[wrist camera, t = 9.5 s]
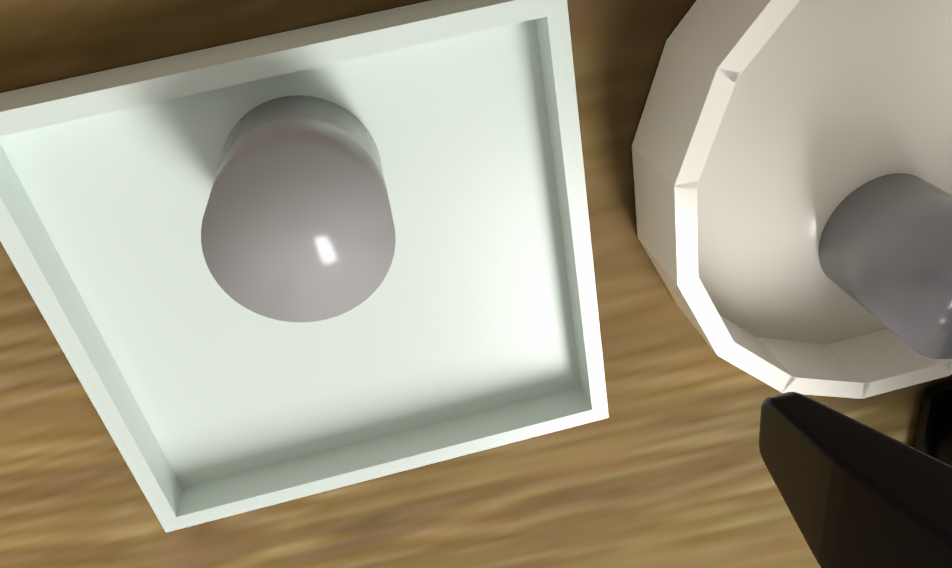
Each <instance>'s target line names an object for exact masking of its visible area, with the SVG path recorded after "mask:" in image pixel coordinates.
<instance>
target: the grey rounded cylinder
mask: <svg viewBox="0 0 952 568" xmlns="http://www.w3.org/2000/svg"><path fill="white" fill-rule="evenodd" d="M818 255H819V262H820V265H821V268H822V270H823V272H824V273H825V275H826V276H827V277H828V278H829V279H830V280H831V281H832V282H833V283H835V284H836V285H837V286H838V287H839V288H841V289H842V290H843V291H844V292H845V293H847V294H848V295H849V296H850V297H851V298H852V299H854V300H855V301H856V302H857V303H858V304H860V305H861V306H862V307H863V308H864V309H866V310H867V311H868V312H869V313H870V314H872V315H873V316H874V317H875V318H876V319H878V320H879V321H880V322H881V323H882V324H884V325H885V326H886V327H887V328H888V329H889V330H891V331H892V332H893V333H894V334H895V335H897V336H898V337H899V338H900V339H901V340H903V341H904V342H905V343H906V344H907V345H909V346H910V347H911V348H912V349H913V350H915V351H916V352H917V353H919V354H921V355H922V356H925V357H928V358H933V359H952V195H951V194H949V193H947V192H945V191H943V190H942V189H940V188H938V187H936V186H934V185H933V184H931V183H929V182H927V181H925V180H923V179H922V178H919V177H917V176H915V175H911V174H905V173H895V174H889V175H884V176H881V177H878V178H875V179H873V180H871V181H869V182H867V183H865V184H863V185H861V186H860V187H858V188H857V189H855V190H854V191H853V192H852V193H850V194H849V195H848V196H847V197H846V198H845V199H844V200H843V201H842V202H841V203H840V204H839V205H838V206H837V208H836V209H835V210H834V211H833V213H832V214H831V216H830V217H829V219H828V221H827V223H826V224H825V227H824V229H823V231H822V234H821V238H820V242H819V254H818Z"/></svg>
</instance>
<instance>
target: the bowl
mask: <svg viewBox="0 0 952 568" xmlns="http://www.w3.org/2000/svg"><path fill="white" fill-rule="evenodd" d="M632 159H633V174H634V190H635V206H636V222H637V237H638V239H639V241H640V242H641V244H642V246H643V247H644V249H645V251H646V253H647V254H648V256H649V258H650V259H651V261H652V263H653V265H654V266H655V268H656V270H657V271H658V273H659V275H660V277H661V278H662V280H663V282H664V283H665V285H666V287H667V289H668V290H669V292H670V294H671V296H672V297H673V299H674V301H675V303H676V304H677V305H678V306H679V308H680V309H681V310H682V311H683V313H684V314H685V315H686V316H687V318H688V319H689V320H690V322H691V323H692V324H693V325H694V327H695V328H696V329H697V330H698V332H699V333H700V334H701V335H702V337H703V338H704V339H705V341H706V342H707V343H708V344H709V346H710V347H711V348H712V349H713V351H714V352H715V353H716V354H717V356H719V357H721V358H723V359H724V360H726V361H728V362H730V363H731V364H733V365H735V366H737V367H738V368H740V369H742V370H744V371H745V372H747V373H749V374H751V375H752V376H754V377H756V378H757V379H759V380H761V381H763V382H764V383H766V384H768V385H770V386H771V387H773V388H775V389H777V390H778V391H780V392H782V393H787V392H797V393H800V394H805V395H818V396H832V397H845V398H858V399H863V398H867V397H871V396H874V395H878V394H882V393H886V392H890V391H893V390H897V389H901V388H905V387H908V386H912V385H916V384H920V383H924V382H927V381H931V380H935V379H939V378H943V377H946V376H949V375H951V374H952V359H933V358H928V357H925V356H922V355H921V354H919V353H917V352H916V351H915V350H913V349H912V348H911V347H910V346H909V345H907V344H906V343H905V342H904V341H903V340H901V339H900V338H899V337H898V336H897V335H895V334H894V333H893V332H892V331H891V330H889V329H888V328H887V327H886V326H885V325H884V324H882V323H881V322H880V321H879V320H878V319H876V318H875V317H874V316H873V315H872V314H870V313H869V312H868V311H867V310H866V309H864V308H863V307H862V306H861V305H860V304H858V303H857V302H856V301H855V300H854V299H852V298H851V297H850V296H849V295H848V294H847V293H845V292H844V291H843V290H842V289H841V288H839V287H838V286H837V285H836V284H835V283H833V282H832V281H831V280H830V279H829V278H828V277H827V276H826V275H825V273H824V272H823V270H822V268H821V265H820V262H819V255H818V254H819V242H820V238H821V234H822V231H823V229H824V227H825V224H826V223H827V221H828V219H829V217H830V216H831V214H832V213H833V211H834V210H835V209H836V208H837V206H838V205H839V204H840V203H841V202H842V201H843V200H844V199H845V198H846V197H847V196H848V195H849V194H850V193H852V192H853V191H854V190H855V189H857V188H858V187H860V186H861V185H863V184H865V183H867V182H869V181H871V180H873V179H875V178H878V177H881V176H884V175H889V174H895V173H905V174H911V175H915V176H917V177H919V178H922V179H923V180H925V181H927V182H929V183H931V184H933V185H934V186H936V187H938V188H940V189H942V190H943V191H945V192H947V193H949V194H951V195H952V0H696V2H695V3H694V4H693V6H692V7H691V8H690V10H689V11H688V12H687V14H686V15H685V16H684V18H683V19H682V20H681V22H680V23H679V24H678V26H677V27H676V28H675V30H674V31H673V32H672V34H671V35H670V36H669V38H668V39H667V40H666V43H665V46H664V49H663V52H662V55H661V58H660V61H659V64H658V67H657V70H656V74H655V77H654V80H653V83H652V86H651V89H650V92H649V95H648V98H647V101H646V104H645V107H644V110H643V113H642V116H641V119H640V122H639V125H638V128H637V131H636V134H635V137H634V141H633V144H632Z"/></svg>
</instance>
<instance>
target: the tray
mask: <svg viewBox="0 0 952 568" xmlns="http://www.w3.org/2000/svg"><path fill="white" fill-rule="evenodd" d="M297 95H303V96H313V97H317V98H321V99H325V100H327V101H330V102H333V103H335V104H337V105H339V106H341V107H343V108H344V109H346V110H347V111H349V112H350V113H352V114H353V115H354V116H355V117H356V118H357V119H359V120H360V121H361V123H362V124H363V125H364V126H365V127H366V128H367V130H368V131H369V133H370V134H371V136H372V138H373V140H374V142H375V144H376V146H377V149H378V152H379V155H380V159H381V164H382V169H383V174H384V179H385V183H386V188H387V193H388V198H389V202H390V207H391V212H392V217H393V222H394V227H395V239H396V243H395V252H394V256H393V260H392V264H391V266H390V268H389V271H388V273H387V275H386V277H385V278H384V280H383V282H382V283H381V284H380V286H379V287H378V288H377V289H376V291H375V292H374V293H373V294H372V295H371V296H370V297H369V298H368V299H366V300H365V301H364V302H362V303H361V304H360V305H358V306H357V307H355V308H353V309H352V310H350V311H348V312H346V313H343V314H341V315H339V316H336V317H333V318H329V319H326V320H321V321H315V322H303V323H302V322H286V321H279V320H275V319H271V318H267V317H265V316H262V315H259V314H257V313H254V312H253V311H251V310H249V309H247V308H245V307H243V306H242V305H240V304H239V303H237V302H236V301H235V300H233V299H232V298H231V297H230V296H229V295H228V294H226V293H225V291H224V290H223V289H222V288H221V287H220V286H219V285H218V283H217V282H216V280H215V279H214V277H213V276H212V274H211V272H210V270H209V268H208V266H207V264H206V261H205V258H204V255H203V251H202V245H201V226H202V219H203V216H204V213H205V209H206V206H207V203H208V199H209V196H210V193H211V189H212V186H213V182H214V179H215V176H216V172H217V169H218V166H219V162H220V159H221V156H222V152H223V149H224V146H225V142H226V140H227V138H228V136H229V134H230V132H231V131H232V129H233V128H234V126H235V125H236V123H237V122H238V121H239V120H240V119H241V118H242V117H243V116H244V115H245V114H247V113H248V112H249V111H250V110H252V109H253V108H255V107H257V106H258V105H260V104H262V103H264V102H267V101H269V100H272V99H276V98H279V97H285V96H297ZM0 241H1V243H2V245H3V247H4V248H5V250H6V252H7V254H8V255H9V257H10V259H11V261H12V262H13V264H14V266H15V268H16V269H17V271H18V273H19V275H20V276H21V278H22V280H23V282H24V284H25V285H26V287H27V289H28V291H29V292H30V294H31V296H32V298H33V299H34V301H35V303H36V305H37V306H38V308H39V310H40V312H41V313H42V315H43V317H44V319H45V320H46V322H47V324H48V326H49V328H50V329H51V331H52V333H53V335H54V336H55V338H56V340H57V342H58V343H59V345H60V347H61V349H62V350H63V352H64V354H65V356H66V357H67V359H68V361H69V363H70V364H71V366H72V368H73V370H74V372H75V373H76V375H77V377H78V379H79V380H80V382H81V384H82V386H83V387H84V389H85V391H86V393H87V394H88V396H89V398H90V400H91V401H92V403H93V405H94V407H95V409H96V410H97V412H98V414H99V416H100V417H101V419H102V421H103V423H104V424H105V426H106V428H107V430H108V431H109V433H110V435H111V437H112V438H113V440H114V442H115V444H116V445H117V447H118V449H119V451H120V453H121V454H122V456H123V458H124V460H125V461H126V463H127V465H128V467H129V468H130V470H131V472H132V474H133V475H134V477H135V479H136V481H137V482H138V484H139V486H140V488H141V490H142V491H143V493H144V495H145V497H146V498H147V500H148V502H149V504H150V505H151V507H152V509H153V511H154V512H155V514H156V516H157V518H158V519H159V521H160V523H161V525H162V526H163V528H164V530H165V532H170V531H174V530H178V529H182V528H186V527H189V526H193V525H197V524H201V523H205V522H209V521H213V520H216V519H220V518H224V517H228V516H232V515H236V514H239V513H243V512H247V511H251V510H255V509H259V508H263V507H266V506H270V505H274V504H278V503H282V502H286V501H290V500H293V499H297V498H301V497H305V496H309V495H313V494H317V493H320V492H324V491H328V490H332V489H336V488H340V487H343V486H347V485H351V484H355V483H359V482H363V481H367V480H370V479H374V478H378V477H382V476H386V475H390V474H394V473H397V472H401V471H405V470H409V469H413V468H417V467H421V466H424V465H428V464H432V463H436V462H440V461H444V460H448V459H451V458H455V457H459V456H463V455H467V454H471V453H474V452H478V451H482V450H486V449H490V448H494V447H498V446H501V445H505V444H509V443H513V442H517V441H521V440H525V439H528V438H532V437H536V436H540V435H544V434H548V433H552V432H555V431H559V430H563V429H567V428H571V427H575V426H578V425H582V424H586V423H590V422H594V421H598V420H602V419H605V418H609V415H608V405H607V395H606V385H605V375H604V365H603V355H602V345H601V335H600V325H599V315H598V305H597V295H596V286H595V276H594V266H593V256H592V246H591V236H590V226H589V216H588V206H587V196H586V186H585V176H584V166H583V156H582V146H581V136H580V126H579V116H578V106H577V96H576V86H575V76H574V66H573V56H572V46H571V36H570V26H569V16H568V6H567V0H430V1H426V2H421V3H416V4H412V5H407V6H403V7H398V8H393V9H389V10H384V11H379V12H375V13H370V14H365V15H361V16H356V17H351V18H347V19H342V20H338V21H333V22H328V23H324V24H319V25H314V26H310V27H305V28H300V29H296V30H291V31H286V32H282V33H277V34H272V35H268V36H263V37H259V38H254V39H249V40H245V41H240V42H235V43H231V44H226V45H221V46H217V47H212V48H207V49H203V50H198V51H193V52H189V53H184V54H180V55H175V56H170V57H166V58H161V59H156V60H152V61H147V62H142V63H138V64H133V65H128V66H124V67H119V68H115V69H110V70H105V71H101V72H96V73H91V74H87V75H82V76H77V77H73V78H68V79H63V80H59V81H54V82H49V83H45V84H40V85H36V86H31V87H26V88H22V89H17V90H12V91H8V92H3V93H0Z"/></svg>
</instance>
